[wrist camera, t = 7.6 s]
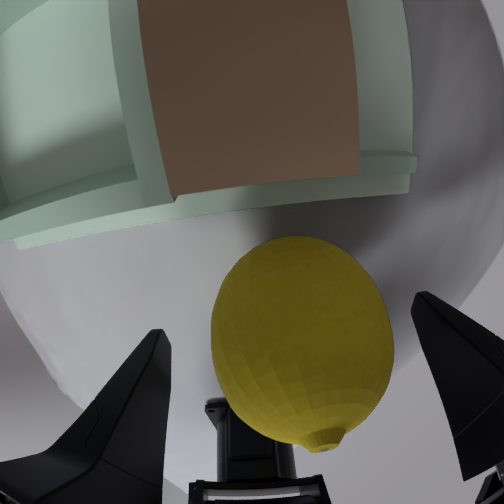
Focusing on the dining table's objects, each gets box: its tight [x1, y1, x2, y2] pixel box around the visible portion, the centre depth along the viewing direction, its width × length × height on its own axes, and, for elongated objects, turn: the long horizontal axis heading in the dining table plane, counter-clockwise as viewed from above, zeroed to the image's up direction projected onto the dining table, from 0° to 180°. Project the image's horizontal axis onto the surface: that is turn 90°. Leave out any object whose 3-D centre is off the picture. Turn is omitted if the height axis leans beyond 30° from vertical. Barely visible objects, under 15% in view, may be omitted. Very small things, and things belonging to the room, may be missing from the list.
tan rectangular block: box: [137, 0, 359, 197], centre depth 5 cm, size 8×4×3 cm, turn 7°
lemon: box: [211, 236, 394, 453], centre depth 9 cm, size 6×6×8 cm
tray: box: [0, 0, 418, 250], centre depth 6 cm, size 12×17×3 cm
